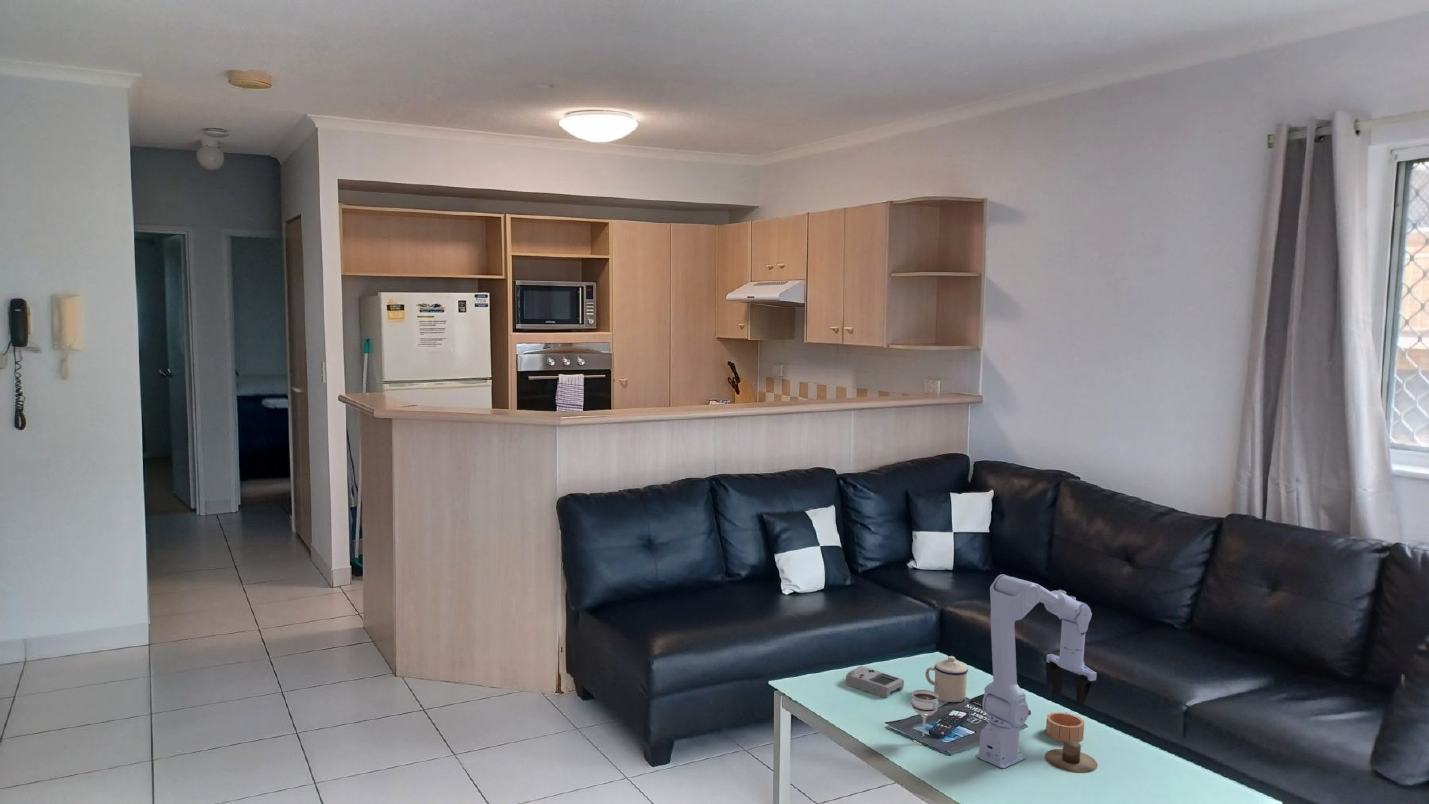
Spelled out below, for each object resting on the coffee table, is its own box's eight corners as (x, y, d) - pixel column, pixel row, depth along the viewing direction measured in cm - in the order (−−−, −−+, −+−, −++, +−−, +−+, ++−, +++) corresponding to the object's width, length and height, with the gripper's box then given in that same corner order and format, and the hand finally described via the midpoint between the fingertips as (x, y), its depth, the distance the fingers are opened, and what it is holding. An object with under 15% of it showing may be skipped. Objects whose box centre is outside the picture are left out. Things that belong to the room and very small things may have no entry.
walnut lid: (1080, 779, 223) (1081, 760, 223) (1034, 759, 233) (1035, 741, 232) (1107, 765, 231) (1108, 746, 230) (1062, 746, 240) (1063, 729, 240)
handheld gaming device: (860, 677, 283) (861, 664, 282) (904, 691, 273) (904, 678, 272) (843, 685, 276) (843, 672, 276) (886, 700, 266) (887, 687, 266)
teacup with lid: (971, 696, 269) (973, 656, 268) (958, 706, 262) (960, 665, 261) (931, 685, 276) (933, 646, 275) (918, 695, 269) (919, 655, 268)
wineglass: (942, 741, 240) (944, 695, 239) (927, 749, 235) (930, 702, 234) (918, 732, 245) (920, 687, 244) (904, 740, 240) (906, 694, 239)
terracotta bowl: (1070, 745, 240) (1071, 730, 239) (1038, 732, 247) (1039, 717, 246) (1090, 736, 245) (1091, 721, 245) (1058, 724, 252) (1059, 709, 252)
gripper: (1106, 653, 240) (1102, 706, 241) (1061, 635, 252) (1058, 685, 254) (1086, 657, 236) (1082, 710, 238) (1041, 639, 249) (1038, 689, 250)
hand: (1068, 698), depth 245 cm, fingers open, 7 cm apart
